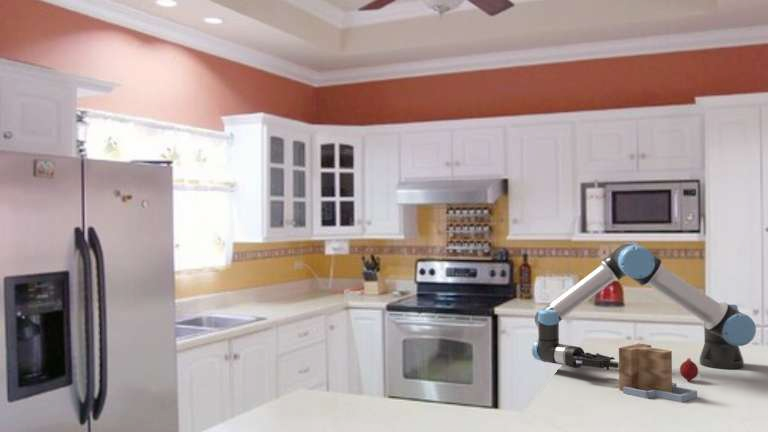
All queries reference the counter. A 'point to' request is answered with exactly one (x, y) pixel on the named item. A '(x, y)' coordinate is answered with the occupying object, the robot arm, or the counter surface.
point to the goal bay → (664, 393)
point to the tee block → (645, 368)
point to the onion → (688, 370)
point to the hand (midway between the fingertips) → (627, 366)
